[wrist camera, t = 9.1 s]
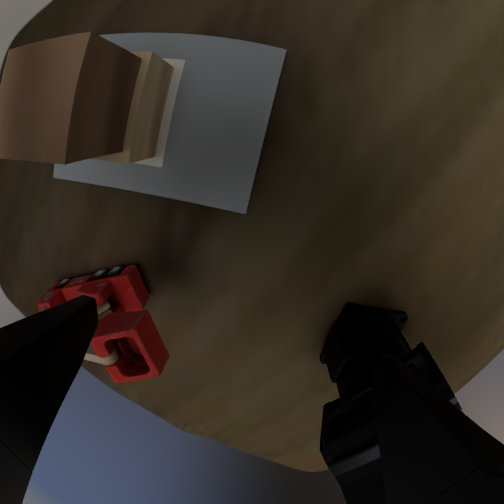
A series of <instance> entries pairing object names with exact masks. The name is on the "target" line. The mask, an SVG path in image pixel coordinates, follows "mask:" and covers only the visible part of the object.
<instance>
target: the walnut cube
mask: <svg viewBox="0 0 504 504" xmlns="http://www.w3.org/2000/svg"><path fill="white" fill-rule="evenodd" d="M141 61H142V58H140V57H138V56H136V55H135V54H133V53H131V52H129V51H127V50H126V49H124V48H122V47H120V46H118V45H116V44H114V43H113V42H111V41H109V40H107V39H105V38H103V37H101V36H99V35H97V34H95V33H93V32H86V33H79V34H73V35H67V36H62V37H57V38H52V39H48V40H43V41H39V42H35V43H31V44H28V45H24V46H21V47H17V48H14V49H11V50H9V52H8V56H7V59H6V63H5V67H4V71H3V75H2V80H1V84H0V158H3V159H15V160H26V161H36V162H45V163H54V164H62V165H66V164H70V163H74V162H78V161H82V160H86V159H91V158H95V157H100V156H105V155H109V154H114V153H120V152H123V146H124V139H125V133H126V127H127V122H128V117H129V111H130V107H131V102H132V97H133V93H134V88H135V84H136V80H137V76H138V72H139V68H140V65H141Z"/></svg>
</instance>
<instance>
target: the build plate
mask: <svg viewBox="0 0 504 504" xmlns="http://www.w3.org/2000/svg"><path fill="white" fill-rule="evenodd" d="M99 36H101V37H103V38H105V39H107V40H109V41H111V42H113V43H114V44H116V45H118V46H120V47H122V48H124V49H126V50H127V51H146V52H154V53H155V54H156V55H158V56H159V57H161V58H162V59H163V60H165V61H166V62H167V63H169V64H170V65H172V66H173V67H174V70H173V74H172V78H171V82H170V86H169V90H168V94H167V98H166V103H165V107H164V112H163V116H162V121H161V126H160V131H159V136H158V142H157V147H156V153H155V157H153V158H149V159H145V160H141V161H138V162H134V163H131V164H125V163H118V162H111V161H104V160H96V159H86V160H82V161H78V162H74V163H70V164H66V165H62V164H54V178H59V179H66V180H72V181H78V182H84V183H90V184H96V185H102V186H108V187H113V188H119V189H124V190H130V191H135V192H141V193H146V194H151V195H156V196H161V197H166V198H171V199H176V200H181V201H186V202H191V203H196V204H201V205H205V206H210V207H215V208H219V209H224V210H229V211H233V212H238V213H242V214H246V211H247V207H248V203H249V199H250V194H251V190H252V186H253V182H254V178H255V174H256V169H257V165H258V161H259V157H260V153H261V149H262V145H263V141H264V137H265V133H266V129H267V125H268V121H269V117H270V113H271V109H272V105H273V101H274V97H275V93H276V89H277V85H278V81H279V77H280V74H281V70H282V66H283V62H284V58H285V54H286V51H287V50H286V49H282V48H278V47H274V46H269V45H264V44H259V43H254V42H249V41H243V40H237V39H230V38H223V37H215V36H205V35H194V34H179V33H123V34H108V35H99Z"/></svg>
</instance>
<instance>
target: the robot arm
mask: <svg viewBox="0 0 504 504" xmlns="http://www.w3.org/2000/svg"><path fill="white" fill-rule="evenodd" d="M349 309H351V310H350V311H348V310H349ZM402 318H403V319H402ZM407 320H408V316H407V315H406V313H404V312H399V311H393V310H387V309H381V308H375V307H369V306H364V305H358V304H352V303H349V304H347V305H345V306H344V308H343V310H342V312H341V315H340V317H339V319H338V321H337V323H336V325H335V326H333V328H332V330H331V332H330V334H329V336H328V338H327V340H326V342H325V344H324V346H323V352H322V354H321V355H320V362H321V363H322V364H327V367H328V371H329V375H330V379H331V381H332V382H333V383H336V384H337V388H338V392H339V396H340V398H338V399H336V400H334V401H332V402H328V403H326V404H325V405H324V407H323V418H322V428H321V437H320V452H321V454H322V456H323V458H324V461H325V463H326V464H327V466H328V468H329V469H330V470H331V472H332V473H333V474H334V476H335V477H336V479H337V481H338V483H339V485H340V487H341V489H342V492H343V495H344V498H345V500H346V503H347V504H504V444H502V443H501V442H500V441H498V440H497V439H495V438H494V437H493V436H491V435H490V434H489V433H487V432H486V431H485V430H483V429H482V428H481V427H480V426H478V425H477V424H476V423H475V422H474V421H472V420H471V419H470V418H469V417H468V416H465V414H464V413H463V412H462V411H461V410H462V408H461V406H460V405H459V403H458V401H457V399H456V397H455V395H454V393H453V392H452V390H451V388H450V386H449V385H448V383H447V381H446V379H445V378H444V376H443V374H442V372H441V371H440V369H439V368H438V366H437V364H436V363H435V361H434V359H433V358H432V356H431V355H430V353H429V351H428V350H427V348H426V347H425V345H424V344H423V342H420V343H419V344H418V345H416V346H417V347H416V348H414V349H413V350H411V348H410V346H409V345H408V343H407V341H406V340H405V338H404V336H403V334H402V333H401V330H402V329H403V327H404V325H405V323H406V322H407ZM97 326H98V311H97V302H96V299H95V298H93V297H90V296H87V295H81V296H79V297H76V298H74V299H71V300H69V301H66V302H64V303H61V304H58V305H56V306H53V307H51V308H48V309H46V310H43V311H41V312H39V313H36V314H34V315H31V316H29V317H26V318H24V319H21V320H19V321H16V322H14V323H12V324H9V325H7V326H4V327H2V328H0V504H22V502H23V499H24V496H25V493H26V490H27V487H28V484H29V481H30V478H31V475H32V471H33V469H34V467H35V464H36V462H37V459H38V456H39V454H40V451H41V449H42V447H43V444H44V442H45V440H46V437H47V435H48V433H49V430H50V428H51V426H52V424H53V421H54V419H55V417H56V415H57V413H58V411H59V408H60V406H61V404H62V402H63V400H64V398H65V396H66V394H67V392H68V390H69V388H70V386H71V384H72V382H73V380H74V379H75V377H76V375H77V373H78V371H79V369H80V367H81V365H82V362H83V360H84V357H85V355H86V352H87V350H88V348H89V345H90V343H91V340H92V338H93V336H94V333H95V331H96V329H97Z"/></svg>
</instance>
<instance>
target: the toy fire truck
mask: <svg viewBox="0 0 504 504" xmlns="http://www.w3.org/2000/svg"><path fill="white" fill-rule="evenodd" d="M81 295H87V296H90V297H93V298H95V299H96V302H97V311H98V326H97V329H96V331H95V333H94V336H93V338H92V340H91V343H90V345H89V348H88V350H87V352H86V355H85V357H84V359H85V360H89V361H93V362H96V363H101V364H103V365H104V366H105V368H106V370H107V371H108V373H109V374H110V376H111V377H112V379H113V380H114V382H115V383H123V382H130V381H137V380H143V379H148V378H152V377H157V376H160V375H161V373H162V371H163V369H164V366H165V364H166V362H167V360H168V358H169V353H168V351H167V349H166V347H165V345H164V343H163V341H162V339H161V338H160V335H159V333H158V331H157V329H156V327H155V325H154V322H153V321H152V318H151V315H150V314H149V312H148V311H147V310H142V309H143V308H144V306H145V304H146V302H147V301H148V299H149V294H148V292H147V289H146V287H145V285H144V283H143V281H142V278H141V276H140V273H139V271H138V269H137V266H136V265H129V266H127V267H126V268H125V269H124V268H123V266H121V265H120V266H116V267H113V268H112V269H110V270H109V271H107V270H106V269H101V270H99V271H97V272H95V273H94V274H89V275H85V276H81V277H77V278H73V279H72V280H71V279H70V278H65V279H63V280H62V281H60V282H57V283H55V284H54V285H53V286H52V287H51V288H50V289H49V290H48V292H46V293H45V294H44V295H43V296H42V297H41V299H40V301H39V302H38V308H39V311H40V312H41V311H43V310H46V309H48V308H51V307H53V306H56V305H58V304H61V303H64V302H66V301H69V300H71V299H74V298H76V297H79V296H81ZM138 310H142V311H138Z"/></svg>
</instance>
